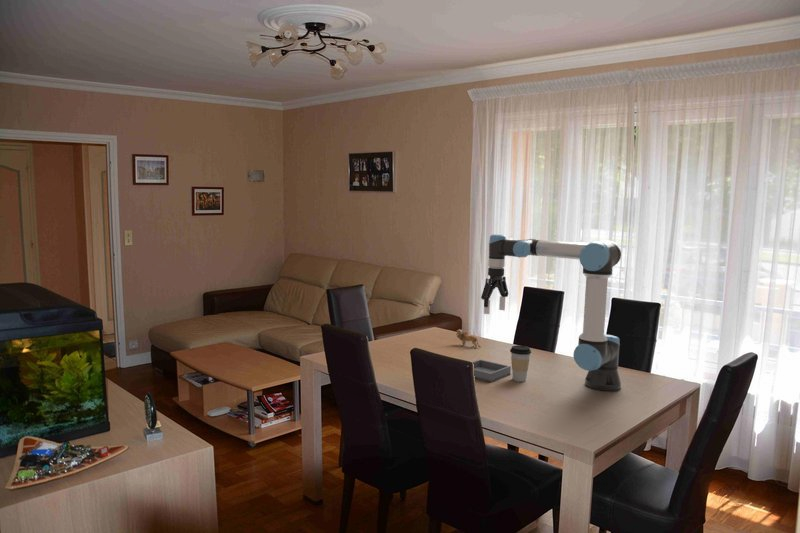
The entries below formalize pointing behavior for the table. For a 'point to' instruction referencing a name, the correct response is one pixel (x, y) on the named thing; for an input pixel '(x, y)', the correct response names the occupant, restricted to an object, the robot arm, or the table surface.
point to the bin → (490, 370)
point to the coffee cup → (520, 362)
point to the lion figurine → (467, 338)
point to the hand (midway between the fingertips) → (494, 311)
